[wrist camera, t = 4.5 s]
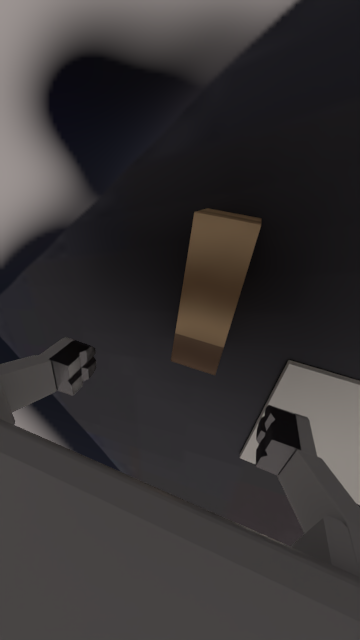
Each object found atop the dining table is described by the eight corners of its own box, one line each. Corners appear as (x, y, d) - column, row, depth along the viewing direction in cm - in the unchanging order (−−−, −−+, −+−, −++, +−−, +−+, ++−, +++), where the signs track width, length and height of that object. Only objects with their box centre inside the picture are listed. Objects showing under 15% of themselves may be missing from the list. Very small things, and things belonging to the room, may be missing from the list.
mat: (288, 359, 21) (289, 363, 20) (498, 422, 18) (505, 428, 17) (240, 453, 29) (239, 458, 29) (378, 506, 26) (380, 512, 26)
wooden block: (207, 208, 17) (194, 212, 14) (261, 218, 16) (261, 225, 13) (183, 336, 23) (170, 360, 20) (222, 348, 23) (215, 375, 19)
